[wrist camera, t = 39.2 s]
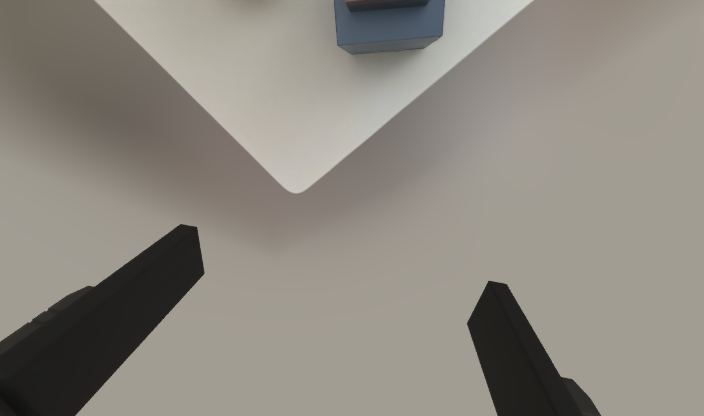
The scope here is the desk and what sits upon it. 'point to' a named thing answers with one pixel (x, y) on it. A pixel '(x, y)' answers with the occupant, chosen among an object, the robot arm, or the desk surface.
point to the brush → (381, 4)
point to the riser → (388, 27)
